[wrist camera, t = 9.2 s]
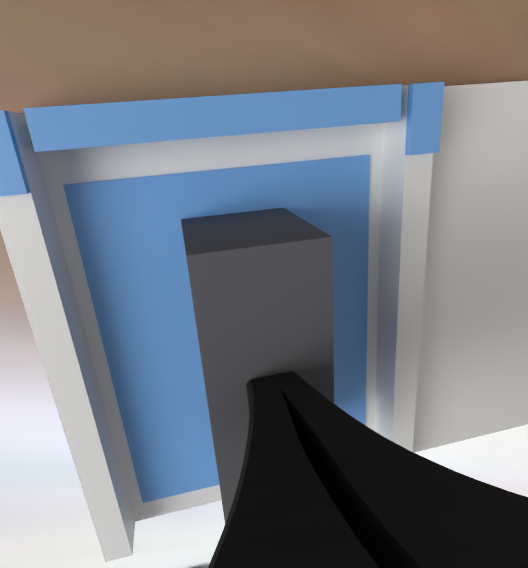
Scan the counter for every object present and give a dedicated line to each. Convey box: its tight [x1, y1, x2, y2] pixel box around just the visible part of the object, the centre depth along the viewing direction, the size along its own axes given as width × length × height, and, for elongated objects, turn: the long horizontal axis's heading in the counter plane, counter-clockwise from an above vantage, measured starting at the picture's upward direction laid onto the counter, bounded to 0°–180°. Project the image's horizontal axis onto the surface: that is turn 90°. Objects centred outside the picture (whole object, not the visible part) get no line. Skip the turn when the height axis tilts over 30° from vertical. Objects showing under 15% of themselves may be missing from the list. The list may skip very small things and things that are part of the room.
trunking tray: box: [0, 81, 528, 562], centre depth 16 cm, size 16×25×3 cm, turn 94°
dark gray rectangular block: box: [181, 208, 334, 524], centre depth 13 cm, size 9×4×4 cm, turn 4°
